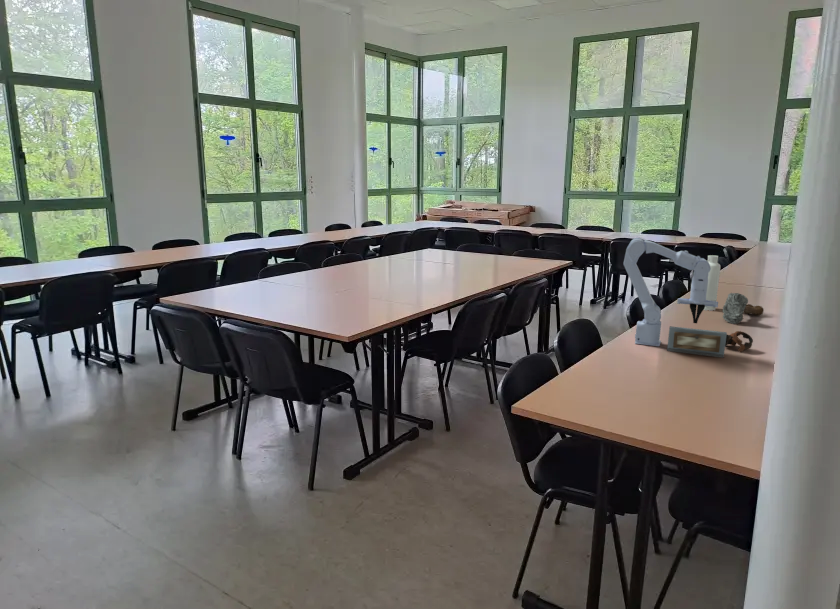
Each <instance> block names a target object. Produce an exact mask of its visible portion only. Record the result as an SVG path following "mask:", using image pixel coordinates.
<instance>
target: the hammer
mask: <svg viewBox="0 0 840 609" xmlns="http://www.w3.org/2000/svg"><path fill="white" fill-rule="evenodd" d="M764 309H765V308H763V306H762V305H753V304H749V299H748V298H747V297H746V296H745V294H741V293H739V292H730V293H728V294H727V297H726V300H725V303H724V305H723V307H722V314H723V315H722V318H723V320H724V321H725V322H727V323H729V324H732V325H737V324H739V323H742V321H743V320H744V316H743V314H745V315H753V316H756V317H757V316H758V317H759V316H762V315H763V314H764V311H765V310H764Z"/></svg>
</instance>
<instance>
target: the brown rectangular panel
mask: <svg viewBox="0 0 840 609" xmlns="http://www.w3.org/2000/svg"><path fill="white" fill-rule="evenodd" d="M720 339H721V336H715V335H704V334H694V333H684V332H674V342H673V347H674V348H683V349H692V350H702V351H711V352H719V348H720Z"/></svg>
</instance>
